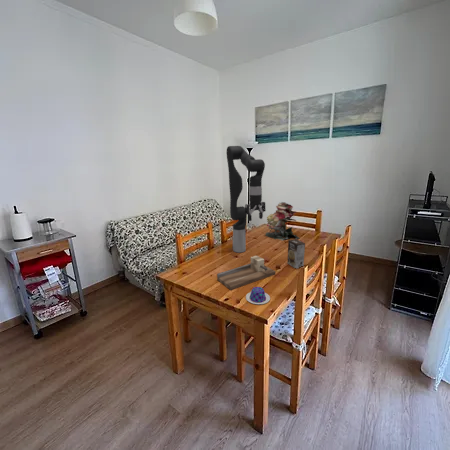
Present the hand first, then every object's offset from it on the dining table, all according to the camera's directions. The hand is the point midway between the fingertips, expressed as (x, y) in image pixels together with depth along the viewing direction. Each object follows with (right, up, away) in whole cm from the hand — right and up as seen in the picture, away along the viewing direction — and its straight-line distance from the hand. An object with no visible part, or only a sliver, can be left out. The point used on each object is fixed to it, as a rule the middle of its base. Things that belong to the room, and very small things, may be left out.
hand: (255, 219), depth 154 cm
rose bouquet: (+30, -13, +63) cm, 71 cm away
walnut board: (-6, -34, -9) cm, 35 cm away
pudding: (-2, -40, -30) cm, 50 cm away
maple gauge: (+2, -31, -5) cm, 31 cm away
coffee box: (+26, -29, +5) cm, 40 cm away
